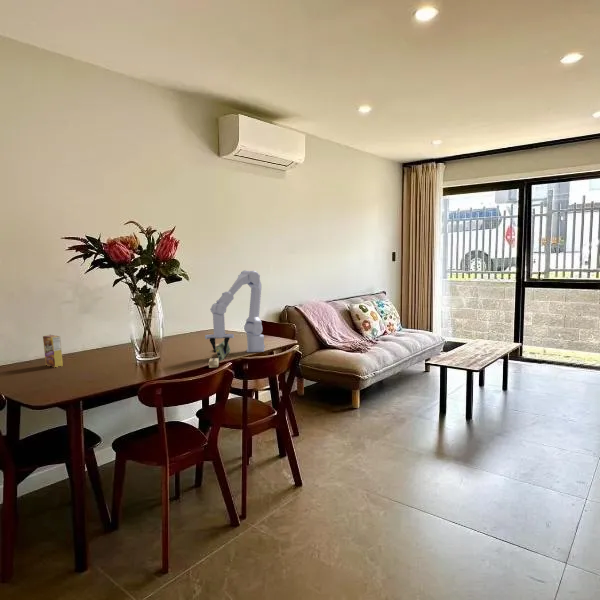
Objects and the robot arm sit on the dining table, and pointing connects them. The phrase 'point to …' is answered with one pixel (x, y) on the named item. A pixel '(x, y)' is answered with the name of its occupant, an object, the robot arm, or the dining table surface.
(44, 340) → the candy box
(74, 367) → the dining table surface
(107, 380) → the dining table surface
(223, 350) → the handheld radio
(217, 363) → the taped cardboard parcel
